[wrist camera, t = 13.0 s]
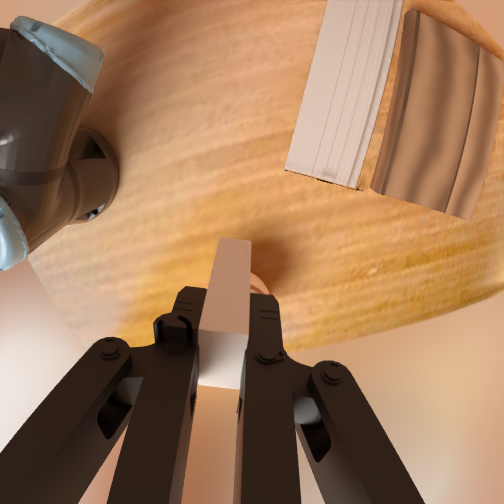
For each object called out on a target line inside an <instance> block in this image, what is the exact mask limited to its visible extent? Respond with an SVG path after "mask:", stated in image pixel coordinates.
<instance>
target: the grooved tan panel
mask: <svg viewBox="0 0 504 504" xmlns="http://www.w3.org/2000/svg"><path fill="white" fill-rule="evenodd" d="M503 84H504V62H503V61H501V60H500V59H498V58H497V57H496V56H494V55H493V54H491V53H490V52H488V51H487V50H485V49H484V48H482V47H481V46H480V45H478V44H476V43H475V42H473V41H472V40H470V39H468V38H467V37H465V36H463V35H462V34H460V33H458V32H457V31H455V30H453V29H451V28H450V27H448V26H446V25H444V24H442V23H440V22H439V21H437V20H435V19H433V18H431V17H429V16H427V15H425V14H423V13H421V12H419V11H416V10H414V9H413V10H411V11H409V12H408V13H406V14H405V17H404V26H403V34H402V41H401V48H400V54H399V61H398V67H397V73H396V78H395V84H394V89H393V94H392V99H391V104H390V109H389V114H388V119H387V123H386V128H385V132H384V136H383V140H382V145H381V149H380V153H379V157H378V161H377V165H376V168H375V172H374V176H373V180H372V183H371V187H370V188H371V189H373V190H374V191H375V192H376V193H378V194H381V195H386V196H390V197H393V198H397V199H400V200H404V201H407V202H411V203H414V204H418V205H421V206H424V207H427V208H431V209H434V210H437V211H440V212H443V213H447V214H450V215H453V216H456V217H459V218H462V219H465V220H468V221H470V222H471V220H472V217H473V214H474V211H475V208H476V205H477V202H478V199H479V196H480V193H481V190H482V186H483V183H484V179H485V176H486V172H487V169H488V165H489V161H490V157H491V153H492V148H493V144H494V139H495V135H496V130H497V124H498V119H499V113H500V107H501V100H502V93H503Z"/></svg>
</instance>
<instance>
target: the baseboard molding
mask: <svg viewBox="0 0 504 504" xmlns="http://www.w3.org/2000/svg"><path fill="white" fill-rule="evenodd" d="M402 3H403V0H328V1H327V5H326V9H325V13H324V17H323V21H322V25H321V29H320V33H319V37H318V41H317V45H316V49H315V52H314V56H313V60H312V64H311V68H310V72H309V76H308V79H307V83H306V87H305V91H304V95H303V99H302V102H301V106H300V110H299V114H298V118H297V121H296V125H295V129H294V133H293V137H292V140H291V144H290V148H289V152H288V155H287V159H286V163H285V167H284V169H287V170H286V171H288V170H291V171H290V172H292V171H295V172H299V173H303V174H306V175H305V176H307V175H310V176H314V177H318V178H321V179H325V180H328V181H331V182H328V181H325V180H321V179H320V181H323V182H327V183H330V184H332V182H335V183H338V184H341V186H342V185H345V186H350V187H354V188H355V187H356V184H357V181H358V178H359V175H360V171H361V168H362V165H363V162H364V159H365V155H366V152H367V149H368V145H369V142H370V138H371V135H372V132H373V128H374V125H375V121H376V117H377V114H378V110H379V106H380V102H381V99H382V95H383V91H384V87H385V83H386V79H387V75H388V71H389V66H390V62H391V58H392V53H393V49H394V44H395V39H396V34H397V29H398V24H399V19H400V14H401V8H402ZM295 172H294V173H295ZM299 173H298V174H299ZM303 174H301V175H303ZM310 176H309V177H310ZM314 177H313V178H314ZM318 178H316V179H317V180H319V179H318ZM335 183H334V184H335ZM338 184H337V185H338ZM345 186H344V187H345ZM347 188H349V187H347ZM351 189H352V188H351ZM356 189H357V190H356ZM356 189H354V190H356V191H358V190H359V189H358V188H356ZM359 191H360V190H359ZM361 191H362V190H361Z"/></svg>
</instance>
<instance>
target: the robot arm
mask: <svg viewBox="0 0 504 504" xmlns="http://www.w3.org/2000/svg"><path fill="white" fill-rule="evenodd" d="M103 63H104V55H103V53H102V51H101V50H100V48H99V47H97V46H96V45H94V44H92V43H90V42H88V41H86V40H84V39H82V38H80V37H78V36H76V35H74V34H72V33H69V32H67V31H65V30H62V29H60V28H57V27H55V26H52V25H49V24H46V23H43V22H40V21H37V20H34V19H32V18H29V17H25V16H18V17H17V18H15V20H14V21H13V22H11V24H10V29H5V28H0V271H4V270H8V269H10V268H11V267H13V266H14V265H16V264H17V263H19V262H20V261H24V260H25V259H26V258H27V257H28V255H29V254H30V253H31V252H33V251H34V250H35V249H36V248H37V247H39V246H40V245H41V244H42V243H44V242H45V241H46V240H47V239H49V238H50V237H51V236H53V235H54V234H55V233H56V232H58V231H59V230H60V229H62V228H63V227H64V226H66V225H71V224H78V223H85V222H88V221H90V220H93V219H94V218H96V217H97V216H99V215H100V214H101V213H103V212H104V211H105V210H106V209H107V208H108V207H109V205H110V204H111V203H112V201H113V199H114V197H115V194H116V191H117V187H118V180H119V171H118V164H117V160H116V157H115V154H114V152H113V150H112V148H111V146H110V145H109V143H108V142H107V141H106V139H105V138H104V137H103V136H101V135H100V134H99V133H98V132H96V131H94V130H92V129H89V128H86V127H79V126H80V123H81V120H82V118H83V115H84V112H85V110H86V107H87V105H88V102H89V100H90V97H91V95H93V94H94V86H95V84H96V81H97V79H98V76H99V74H100V71H101V69H102V66H103ZM250 272H251V241H249V240H240V239H231V238H222V237H220V240H219V244H218V248H217V252H216V256H215V260H214V264H213V268H212V273H211V277H210V281H209V285H208V289H206V288H198V287H190V286H185V287H184V288H183V289H182V290H181V291H180V292H178V295H177V298H176V300H175V303H174V306H173V309H172V312H171V313H167V314H163V315H161V316H159V317H158V318H156V320H155V321H154V323H153V328H154V337H155V343H154V344H152V345H149V346H144V347H132V348H130V347H129V345H128V344H127V342H125V341H124V340H122V339H121V338H116V337H106V338H103V339H100V340H98V341H97V342H95V343H94V344H93V345H92V346H91V347H90V348H89V349H88V351H87V352H86V353H85V354H84V355H83V356H82V357H81V358H80V359H79V361H78V362H77V363H76V364H75V365H74V366H73V367H72V368H71V369H70V370H69V372H68V373H67V374H66V375H65V376H64V377H63V378H62V380H61V381H60V382H59V383H58V384H57V385H56V386H55V387H54V389H53V390H52V391H51V392H50V393H49V395H48V396H47V397H46V398H45V399H44V400H43V401H42V403H41V404H40V405H39V406H38V407H37V409H36V410H35V411H34V412H33V413H32V414H31V416H30V417H29V418H28V419H27V420H26V422H25V423H24V424H23V425H22V427H21V428H20V429H19V430H18V431H17V433H16V434H15V435H14V437H13V438H12V439H11V440H10V442H9V443H8V444H7V445H6V446H5V448H4V449H3V450H2V452H1V453H0V504H78V502H79V501H80V499H81V498H82V496H83V494H84V493H85V491H86V490H87V488H88V486H89V485H90V483H91V482H92V480H93V479H94V477H95V475H96V473H97V472H98V471H99V469H100V467H101V466H102V464H103V463H104V461H105V459H106V458H107V456H108V455H109V453H110V452H111V450H112V448H113V447H114V445H115V444H116V442H117V441H118V439H119V437H120V436H121V434H122V433H123V431H124V430H125V428H126V427H127V425H128V427H127V431H126V434H125V437H124V441H123V444H122V448H121V451H120V455H119V458H118V462H117V466H116V469H115V473H114V477H113V481H112V484H111V488H110V492H109V496H108V501H107V504H181V500H182V492H183V485H184V477H185V470H186V463H187V456H188V449H189V443H190V436H191V430H192V423H193V416H194V411H195V404H196V398H197V395H196V393H197V383H198V385H204V386H213V387H222V388H231V389H240V396H239V401H238V407H237V413H238V419H237V420H238V421H237V438H236V439H237V440H236V458H235V459H236V460H235V477H234V478H235V479H234V498H233V499H234V500H233V504H301V492H300V478H299V467H298V454H297V442H296V431H297V434H298V436H299V439H300V441H301V444H302V447H303V449H304V452H305V454H306V457H307V459H308V462H309V464H310V467H311V469H312V472H313V474H314V477H315V479H316V482H317V484H318V487H319V489H320V492H321V494H322V497H323V499H324V502H325V504H425V503H424V501H423V499H422V497H421V495H420V494H419V492H418V490H417V488H416V486H415V484H414V482H413V481H412V479H411V477H410V475H409V473H408V472H407V470H406V468H405V466H404V465H403V463H402V461H401V459H400V457H399V455H398V454H397V452H396V450H395V448H394V447H393V445H392V443H391V441H390V440H389V438H388V436H387V434H386V433H385V431H384V429H383V427H382V426H381V424H380V422H379V420H378V419H377V417H376V415H375V414H374V412H373V410H372V408H371V406H370V405H369V403H368V401H367V400H366V398H365V396H364V395H363V393H362V391H361V389H360V388H359V386H358V384H357V383H356V381H355V379H354V377H353V376H352V374H351V372H350V371H349V370H348V369H347V368H346V367H345V366H344V365H342V364H340V363H339V362H335V361H322V362H319V363H317V364H316V365H315V366H314V367H310V366H306V365H303V364H301V363H298V362H296V361H294V360H293V359H291V358H290V357H289V356H288V355H287V352H286V351H285V350H284V348H283V340H282V330H281V321H280V310H279V303H278V301H277V300H276V299H275V297H274V296H273V295H268V294H258V293H250ZM128 423H129V424H128ZM295 429H296V431H295Z"/></svg>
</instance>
